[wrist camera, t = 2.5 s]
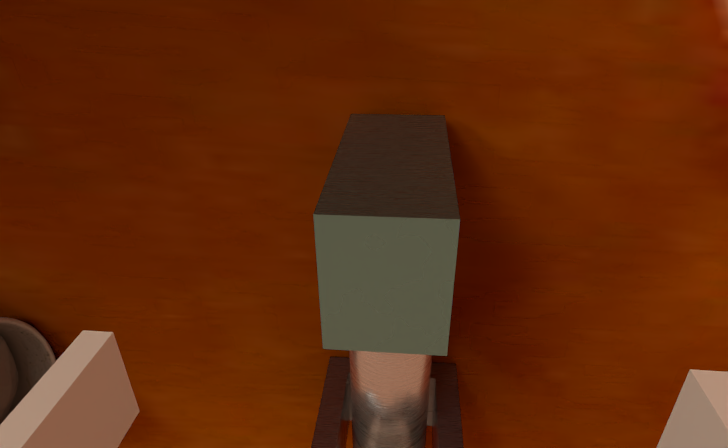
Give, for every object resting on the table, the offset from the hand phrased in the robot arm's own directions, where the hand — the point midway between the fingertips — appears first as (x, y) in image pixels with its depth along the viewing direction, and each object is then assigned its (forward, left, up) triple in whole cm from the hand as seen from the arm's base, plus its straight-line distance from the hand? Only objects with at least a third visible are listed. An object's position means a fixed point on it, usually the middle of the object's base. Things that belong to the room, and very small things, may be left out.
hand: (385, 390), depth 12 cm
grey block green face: (+7, 0, -13) cm, 14 cm away
